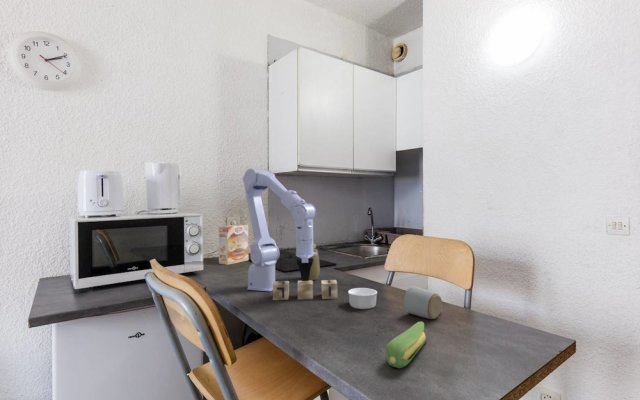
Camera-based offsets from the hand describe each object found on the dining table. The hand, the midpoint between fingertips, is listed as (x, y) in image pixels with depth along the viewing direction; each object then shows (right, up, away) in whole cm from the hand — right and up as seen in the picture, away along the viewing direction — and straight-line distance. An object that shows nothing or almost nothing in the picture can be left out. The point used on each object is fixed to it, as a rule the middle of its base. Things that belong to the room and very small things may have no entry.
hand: (305, 280), depth 112 cm
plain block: (0, -6, 0) cm, 6 cm away
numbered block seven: (-8, -6, 0) cm, 10 cm away
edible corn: (+24, -6, -41) cm, 48 cm away
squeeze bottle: (+1, -6, +25) cm, 26 cm away
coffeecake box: (-40, -6, +65) cm, 77 cm away
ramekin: (+18, -6, -9) cm, 21 cm away
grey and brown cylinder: (+34, -5, -18) cm, 39 cm away
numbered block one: (+8, -6, 0) cm, 10 cm away
